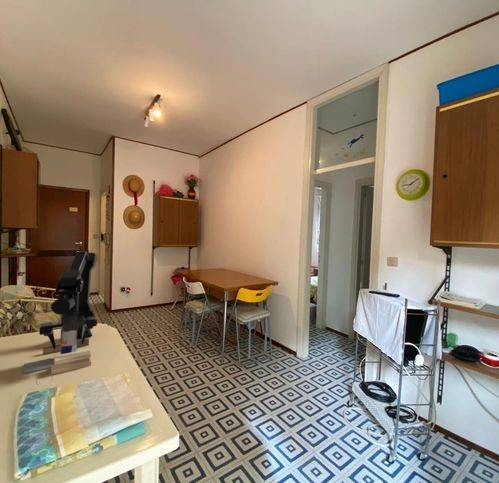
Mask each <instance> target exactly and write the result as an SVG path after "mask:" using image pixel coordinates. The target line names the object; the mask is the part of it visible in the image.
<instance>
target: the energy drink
mask: <svg viewBox="0 0 499 483" xmlns="http://www.w3.org/2000/svg"><path fill="white" fill-rule="evenodd" d="M77 340H78V339H77V330H75V331H74V330H73V331H68V332H64V331H63V328H61V329H60V343H61V351H59V352H60V353H59V355H61V354H66V353H71V352H75V351H78V349H77Z"/></svg>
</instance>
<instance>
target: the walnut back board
mask: <svg viewBox="0 0 499 483" xmlns="http://www.w3.org/2000/svg"><path fill="white" fill-rule="evenodd" d="M81 339H82V338H79V339H77V348H78V349H79V348H82V347H83V348H84V347H86V346H89V345H90V337H86V338H85V340H84V343H83V344H82V342H81ZM57 352H61V342H59V343H55V349H54V348H53V346H52V344H48V345H43V346H42V355H48V354H52V353H57Z"/></svg>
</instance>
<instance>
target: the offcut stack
mask: <svg viewBox="0 0 499 483" xmlns="http://www.w3.org/2000/svg"><path fill="white" fill-rule="evenodd" d="M91 358H92V353H91V351H90V349H89V348H87V349H86V348H85V349H81V350H77V351H75V352H71V353H66V354H61V355H60V354H57V355H54V356H53V360H52V361H51V368H50V374H51V375H52V376H53V375H55V374H60V373H64V372H69V371H72V370H76V369H81V368H85V367H88V366H92V361H91Z"/></svg>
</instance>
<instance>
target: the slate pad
mask: <svg viewBox="0 0 499 483" xmlns="http://www.w3.org/2000/svg"><path fill="white" fill-rule="evenodd" d="M51 361H53V360H52V357H50V358H45V359H40V360H36V361H30V362H26V363H24V368H23V375H26V374H27V375H28V374H31V373H34V372H35V373H36V372H41V371H44V370H48V369H51Z"/></svg>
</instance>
